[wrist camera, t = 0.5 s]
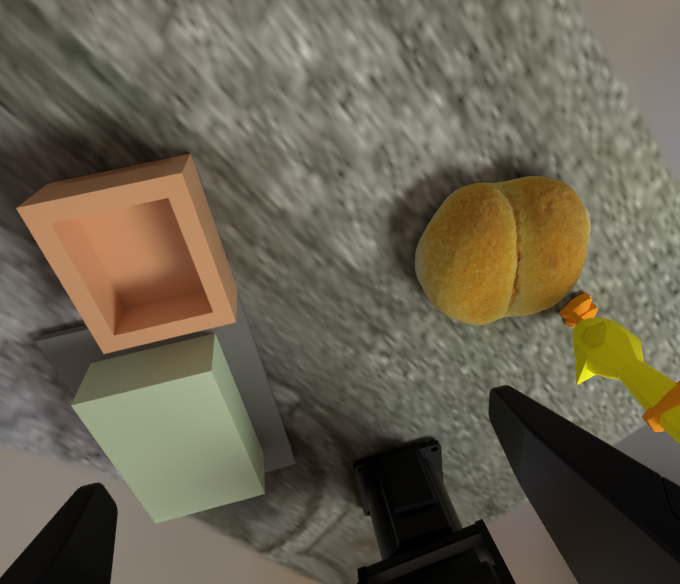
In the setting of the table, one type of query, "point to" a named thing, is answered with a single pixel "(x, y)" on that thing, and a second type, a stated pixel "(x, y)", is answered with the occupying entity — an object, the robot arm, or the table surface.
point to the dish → (135, 252)
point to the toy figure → (621, 364)
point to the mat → (235, 341)
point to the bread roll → (503, 249)
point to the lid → (174, 427)
